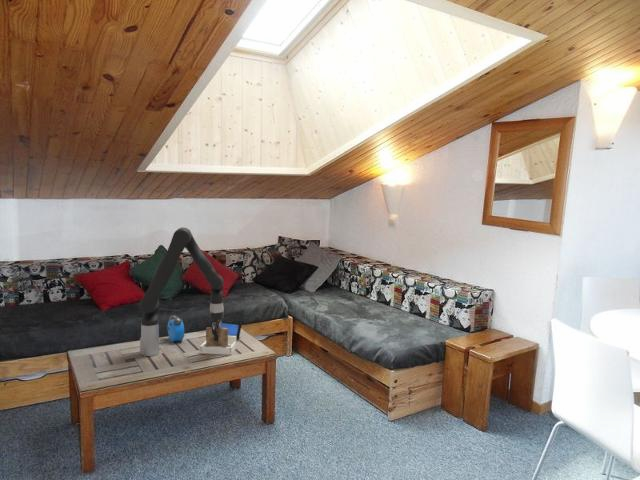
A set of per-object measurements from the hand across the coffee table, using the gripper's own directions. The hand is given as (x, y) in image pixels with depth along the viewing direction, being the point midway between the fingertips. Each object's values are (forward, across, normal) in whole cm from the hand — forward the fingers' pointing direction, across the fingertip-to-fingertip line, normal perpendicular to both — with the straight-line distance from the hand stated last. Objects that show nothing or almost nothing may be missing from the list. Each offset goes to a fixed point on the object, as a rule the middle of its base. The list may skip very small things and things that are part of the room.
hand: (216, 339), depth 272 cm
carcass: (+7, -3, 0) cm, 8 cm away
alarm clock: (+7, -16, -30) cm, 35 cm away
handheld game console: (+8, -23, -1) cm, 24 cm away
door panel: (+3, 0, 0) cm, 3 cm away
